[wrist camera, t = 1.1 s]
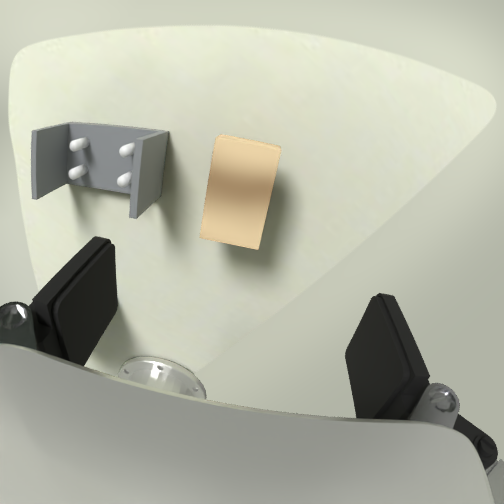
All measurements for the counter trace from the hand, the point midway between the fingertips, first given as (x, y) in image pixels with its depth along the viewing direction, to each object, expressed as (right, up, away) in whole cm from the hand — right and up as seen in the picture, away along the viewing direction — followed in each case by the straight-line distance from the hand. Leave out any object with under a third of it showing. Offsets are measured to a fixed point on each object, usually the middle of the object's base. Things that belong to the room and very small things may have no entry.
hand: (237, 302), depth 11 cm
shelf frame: (-12, +11, +16) cm, 23 cm away
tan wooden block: (0, +7, +13) cm, 15 cm away
